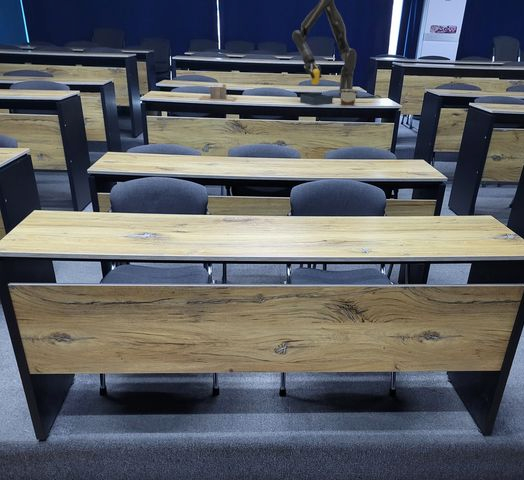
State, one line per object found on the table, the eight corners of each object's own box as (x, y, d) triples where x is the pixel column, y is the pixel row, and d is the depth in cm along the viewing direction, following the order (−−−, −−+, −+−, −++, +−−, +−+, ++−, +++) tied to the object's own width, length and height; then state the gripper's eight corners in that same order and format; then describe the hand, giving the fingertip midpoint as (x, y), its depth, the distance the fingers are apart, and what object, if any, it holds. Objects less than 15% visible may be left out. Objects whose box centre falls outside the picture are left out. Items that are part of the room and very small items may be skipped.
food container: (355, 104, 377) (357, 89, 371) (356, 105, 372) (357, 90, 366) (338, 103, 378) (340, 88, 372) (338, 105, 372) (340, 89, 367)
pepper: (315, 83, 378) (316, 66, 372) (320, 84, 374) (321, 67, 368) (309, 83, 375) (310, 67, 369) (314, 84, 372) (315, 67, 366)
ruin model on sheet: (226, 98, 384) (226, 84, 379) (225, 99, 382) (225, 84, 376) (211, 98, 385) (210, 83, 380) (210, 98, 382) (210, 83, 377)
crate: (318, 100, 389) (318, 92, 386) (332, 103, 379) (333, 95, 376) (299, 101, 380) (300, 94, 377) (314, 105, 370) (314, 97, 367)
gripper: (302, 53, 366) (312, 74, 364) (317, 53, 373) (327, 73, 372) (297, 61, 372) (306, 82, 371) (312, 60, 379) (321, 81, 378)
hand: (317, 77), depth 371 cm, fingers closed on pepper, 5 cm apart
